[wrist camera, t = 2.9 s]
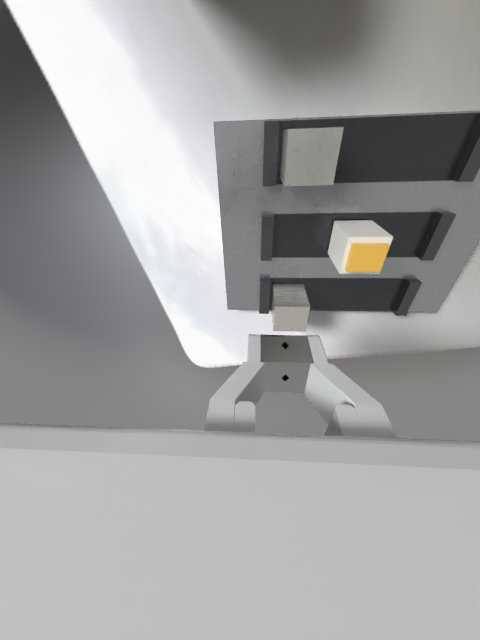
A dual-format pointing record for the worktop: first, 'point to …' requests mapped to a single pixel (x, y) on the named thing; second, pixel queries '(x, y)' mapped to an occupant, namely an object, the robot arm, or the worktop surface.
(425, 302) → the panel
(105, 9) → the worktop surface
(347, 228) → the block
